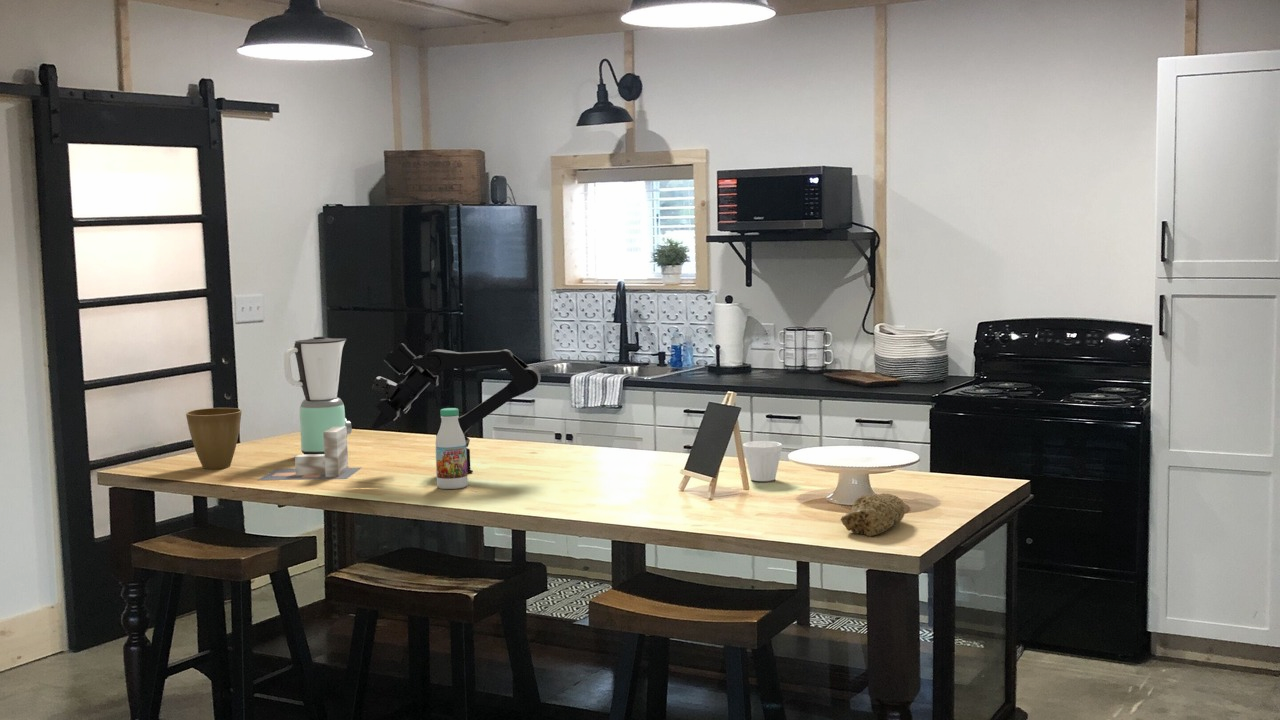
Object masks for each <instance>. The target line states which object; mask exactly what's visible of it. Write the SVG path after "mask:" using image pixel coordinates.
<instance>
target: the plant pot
mask: <svg viewBox="0 0 1280 720" xmlns="http://www.w3.org/2000/svg"><path fill="white" fill-rule="evenodd" d="M185 415H186V420H187V426H188V430H189V433H190V438H191V440H192V444H193V447H194V449H195V453H196V455H197V457H198V460H199V463H200V464H201V466H202V468H203V469H206V470H218V469H226V468H229V467H231V465H232V461H233V458H234V456H235V451H236V448H237V444H238V439H239V434H240V428H241V422H242V421H241V419H242V409H240V408H236V407H213V408H212V407H211V408H210V407H209V408H208V407H207V408H200V409H199V408H198V409H193V410H189V411H186V412H185Z"/></svg>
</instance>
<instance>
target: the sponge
mask: <svg viewBox="0 0 1280 720" xmlns="http://www.w3.org/2000/svg"><path fill="white" fill-rule="evenodd" d="M903 501H904V500H903V499H901V498H900V497H898V496H897V495H895V494H892V493H891V494H890V493H880V494H877V493H876V494H869V493H868V494H865V495H864V494H863V495H861V496H859V497H857V498H856V500H855V502H854V503H853V504H852V506H851V510H849V511H848V512H846V513H845V515H842V516H841V518H840V521H841V523H842V525H843V526H844V527H845V529H846V530H847V531H848V532H849V531H850V532H852V533H854V534H860V535H865V536H866V537H869V538H870V537H873V536H874V537H875V536H877V535H879V534H882V533H883V532H886V531H887V530H889V529H890V528H892V527H893V526H895V525H897V524H898V523H900V522H901V521H902V520H903V518H904V516H905V514H906V512H905V506H904V505H905V504H904V502H903Z"/></svg>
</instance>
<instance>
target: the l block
mask: <svg viewBox="0 0 1280 720" xmlns="http://www.w3.org/2000/svg"><path fill="white" fill-rule="evenodd" d="M323 434H324V454H296V456H295V457H294V465H295V468H294V469H296V475H326V477H339V476H340V475H342V474H343V473H344V472H346V471H347V470H348V468H349V454H348V452H349V451H348V434H347V429H346V426H341V427H332V428H330V429H328V430H327V431H325V432H323Z"/></svg>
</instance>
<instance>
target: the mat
mask: <svg viewBox="0 0 1280 720" xmlns="http://www.w3.org/2000/svg"><path fill="white" fill-rule="evenodd" d="M361 469H362V467H348V470H347V471H346V472H344V473H343V474H342V475H340V476H339V477H326V475H296V469H295V468H276V469H274V470H272V471H270V472H269V473H267V474H266V475H264V476H261V477H260V478H258V479H257V481H292V480H293V481H299V480H301V481H302V480H304V481H305V480H347V479H349V478H350V477H351V476H353V475H354V474H356V473H357V472H358V471H359V470H361Z"/></svg>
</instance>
